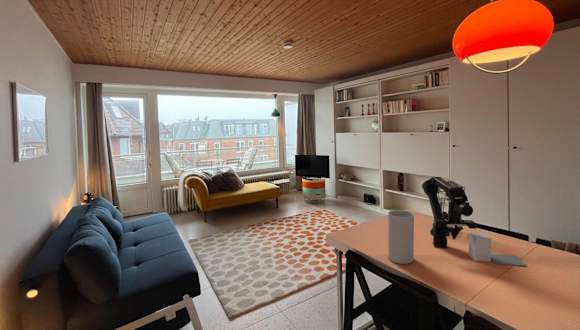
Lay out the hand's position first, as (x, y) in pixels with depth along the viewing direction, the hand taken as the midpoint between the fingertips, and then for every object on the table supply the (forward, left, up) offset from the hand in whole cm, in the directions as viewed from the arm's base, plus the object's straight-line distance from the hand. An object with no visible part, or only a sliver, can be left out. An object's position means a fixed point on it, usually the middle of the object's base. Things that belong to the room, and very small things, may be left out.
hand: (453, 239), depth 145 cm
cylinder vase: (-27, -9, -10) cm, 30 cm away
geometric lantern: (+6, +34, -10) cm, 36 cm away
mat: (+23, 0, -10) cm, 25 cm away
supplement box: (+12, 0, -10) cm, 15 cm away
